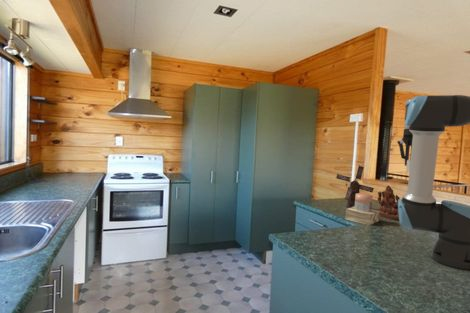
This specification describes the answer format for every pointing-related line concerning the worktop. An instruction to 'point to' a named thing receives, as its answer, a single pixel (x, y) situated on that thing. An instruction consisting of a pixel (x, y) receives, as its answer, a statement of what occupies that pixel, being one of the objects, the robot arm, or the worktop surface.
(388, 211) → the sculpture
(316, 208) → the worktop surface
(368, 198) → the pink mushroom-shaped knob
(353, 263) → the worktop surface
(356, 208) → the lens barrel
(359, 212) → the square wooden block
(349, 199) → the miniature windmill
